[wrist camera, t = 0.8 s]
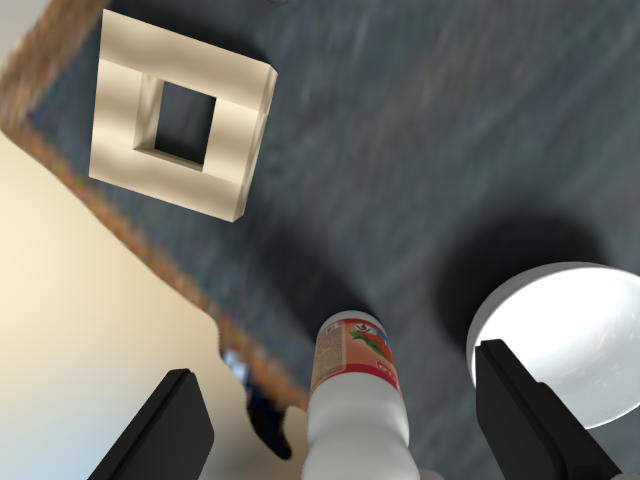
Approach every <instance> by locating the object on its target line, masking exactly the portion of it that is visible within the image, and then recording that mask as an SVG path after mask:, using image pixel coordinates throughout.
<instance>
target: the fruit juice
mask: <svg viewBox="0 0 640 480" xmlns="http://www.w3.org/2000/svg"><path fill="white" fill-rule="evenodd" d="M307 439H308V444H309V447H310V450H309V453H308V455H307V457H306V460H305V463H304V466H303V471H302V477H301V480H420V476H419V472H418V469H417V467H416V464H415V462H414V460H413V458H412V456H411V454H410V452H409V450H408V444H409V427H408V420H407V414H406V409H405V405H404V402H403V398H402V394H401V390H400V386H399V382H398V377H397V373H396V369H395V365H394V361H393V357H392V353H391V349H390V345H389V340H388V337H387V334H386V332H385V330H384V328H383V326H382V325H381V324H380V323H379V322H378V321H377V320H376V319H375V318H374V317H372V316H371V315H369V314H367V313H364V312H360V311H343V312H339V313H337V314H335V315H333V316H331V317H330V318H329V319H327V320H326V321H325V322H324V324H323V325H322V327H321V328H320V330H319V333H318V336H317V340H316V348H315V356H314V364H313V373H312V381H311V389H310V397H309V404H308V411H307Z"/></svg>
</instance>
